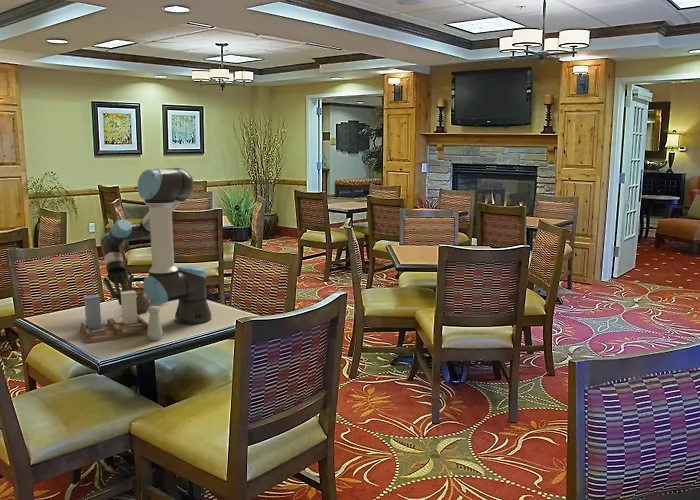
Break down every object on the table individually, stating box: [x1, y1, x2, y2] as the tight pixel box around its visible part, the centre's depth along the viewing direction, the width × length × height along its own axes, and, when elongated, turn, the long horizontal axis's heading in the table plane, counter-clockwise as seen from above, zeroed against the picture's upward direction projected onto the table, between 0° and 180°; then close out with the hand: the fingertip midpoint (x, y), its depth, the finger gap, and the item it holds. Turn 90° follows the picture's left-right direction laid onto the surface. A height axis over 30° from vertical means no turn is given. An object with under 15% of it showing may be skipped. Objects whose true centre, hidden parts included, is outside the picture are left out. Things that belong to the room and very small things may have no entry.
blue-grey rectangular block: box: [83, 294, 102, 330], centre depth 248 cm, size 4×5×13 cm
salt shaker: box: [146, 306, 164, 342], centre depth 240 cm, size 6×6×13 cm
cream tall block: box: [120, 290, 138, 324], centre depth 256 cm, size 4×5×13 cm
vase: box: [136, 291, 150, 314], centre depth 279 cm, size 7×7×9 cm
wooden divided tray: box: [80, 314, 149, 344], centre depth 249 cm, size 18×23×4 cm
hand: (125, 310), depth 261 cm, fingers closed
